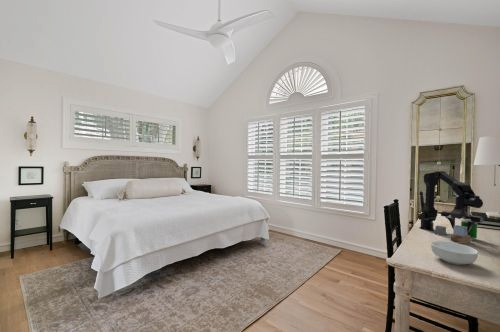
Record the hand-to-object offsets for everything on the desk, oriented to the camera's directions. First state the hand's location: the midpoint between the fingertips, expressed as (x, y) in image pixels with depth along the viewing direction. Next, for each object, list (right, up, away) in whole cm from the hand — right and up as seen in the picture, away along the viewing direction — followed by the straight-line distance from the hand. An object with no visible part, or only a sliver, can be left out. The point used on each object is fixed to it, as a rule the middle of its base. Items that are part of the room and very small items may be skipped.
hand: (460, 230), depth 144 cm
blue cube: (0, -3, 0) cm, 3 cm away
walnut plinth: (0, -7, 0) cm, 6 cm away
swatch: (+1, -6, +9) cm, 11 cm away
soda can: (+11, -7, +7) cm, 15 cm away
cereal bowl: (-30, -7, -30) cm, 43 cm away
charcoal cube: (0, -6, +15) cm, 16 cm away
